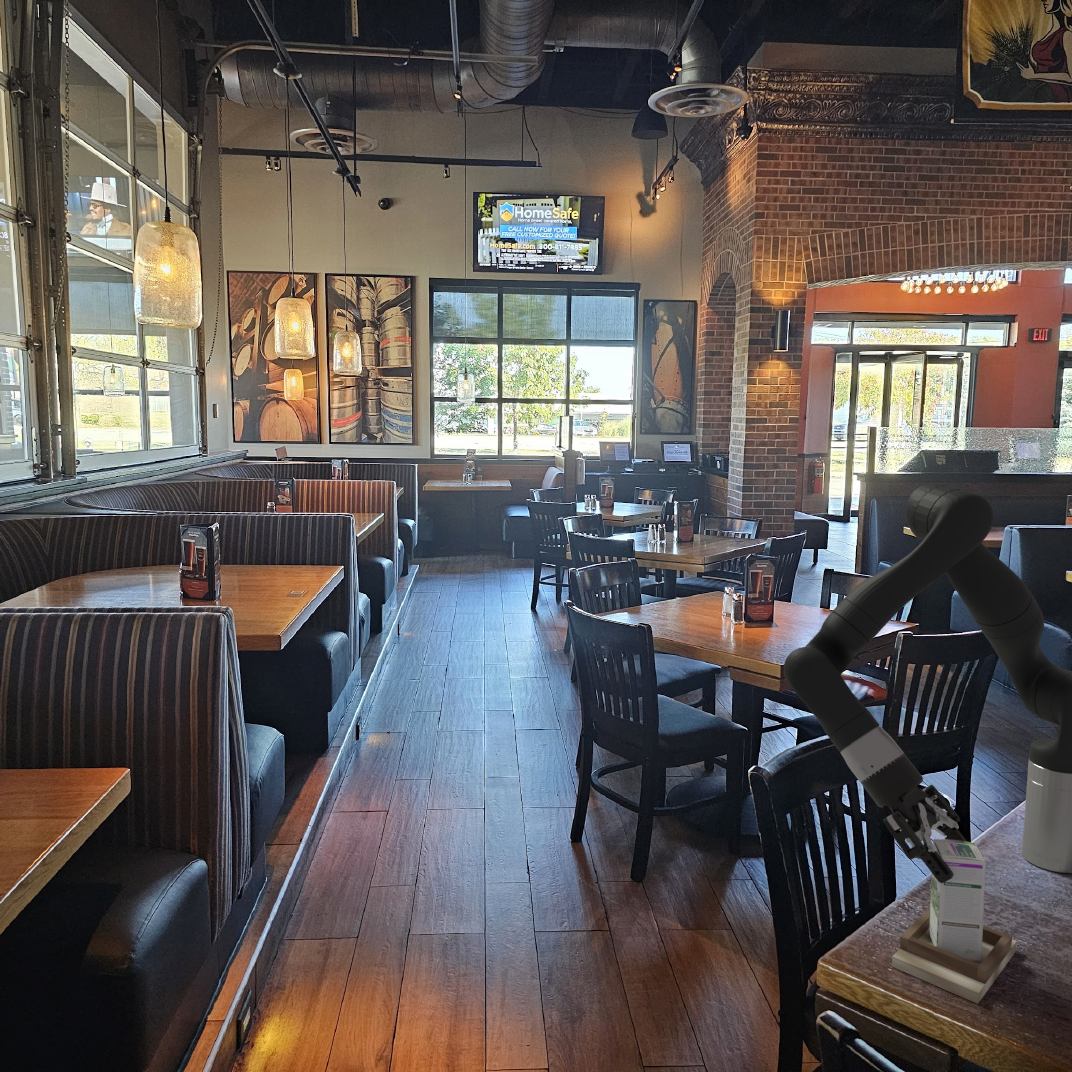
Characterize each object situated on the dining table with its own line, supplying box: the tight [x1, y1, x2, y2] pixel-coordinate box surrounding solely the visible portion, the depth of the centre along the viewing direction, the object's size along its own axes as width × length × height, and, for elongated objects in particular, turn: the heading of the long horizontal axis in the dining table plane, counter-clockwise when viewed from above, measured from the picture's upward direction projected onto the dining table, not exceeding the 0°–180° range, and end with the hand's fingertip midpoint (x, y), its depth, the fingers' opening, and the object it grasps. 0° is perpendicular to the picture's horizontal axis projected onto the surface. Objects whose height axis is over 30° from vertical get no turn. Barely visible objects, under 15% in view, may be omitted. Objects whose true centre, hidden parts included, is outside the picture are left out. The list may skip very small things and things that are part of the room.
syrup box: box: [929, 838, 987, 962], centre depth 118 cm, size 6×6×14 cm
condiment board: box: [891, 906, 1018, 1005], centre depth 119 cm, size 16×11×3 cm
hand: (959, 868), depth 118 cm, fingers open, 8 cm apart
